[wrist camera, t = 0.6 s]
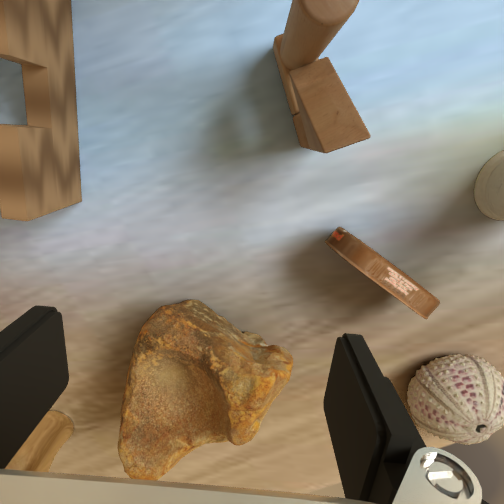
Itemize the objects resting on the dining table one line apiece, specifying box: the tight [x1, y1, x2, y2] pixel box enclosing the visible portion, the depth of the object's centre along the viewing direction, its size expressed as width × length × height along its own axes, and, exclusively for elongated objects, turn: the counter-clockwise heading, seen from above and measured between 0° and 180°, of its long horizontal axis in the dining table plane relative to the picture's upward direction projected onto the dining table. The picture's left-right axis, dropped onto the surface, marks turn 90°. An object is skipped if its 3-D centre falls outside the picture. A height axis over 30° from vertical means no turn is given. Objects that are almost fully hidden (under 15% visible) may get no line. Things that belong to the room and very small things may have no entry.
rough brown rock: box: [118, 300, 293, 481], centre depth 40 cm, size 23×17×15 cm
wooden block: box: [273, 0, 370, 153], centre depth 27 cm, size 4×11×18 cm, turn 19°
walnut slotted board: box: [0, 0, 82, 221], centre depth 32 cm, size 22×2×10 cm, turn 173°
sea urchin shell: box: [407, 354, 504, 445], centre depth 45 cm, size 13×14×8 cm
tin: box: [325, 227, 440, 319], centre depth 38 cm, size 15×3×8 cm, turn 54°
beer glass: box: [5, 411, 74, 472], centre depth 45 cm, size 7×7×15 cm
